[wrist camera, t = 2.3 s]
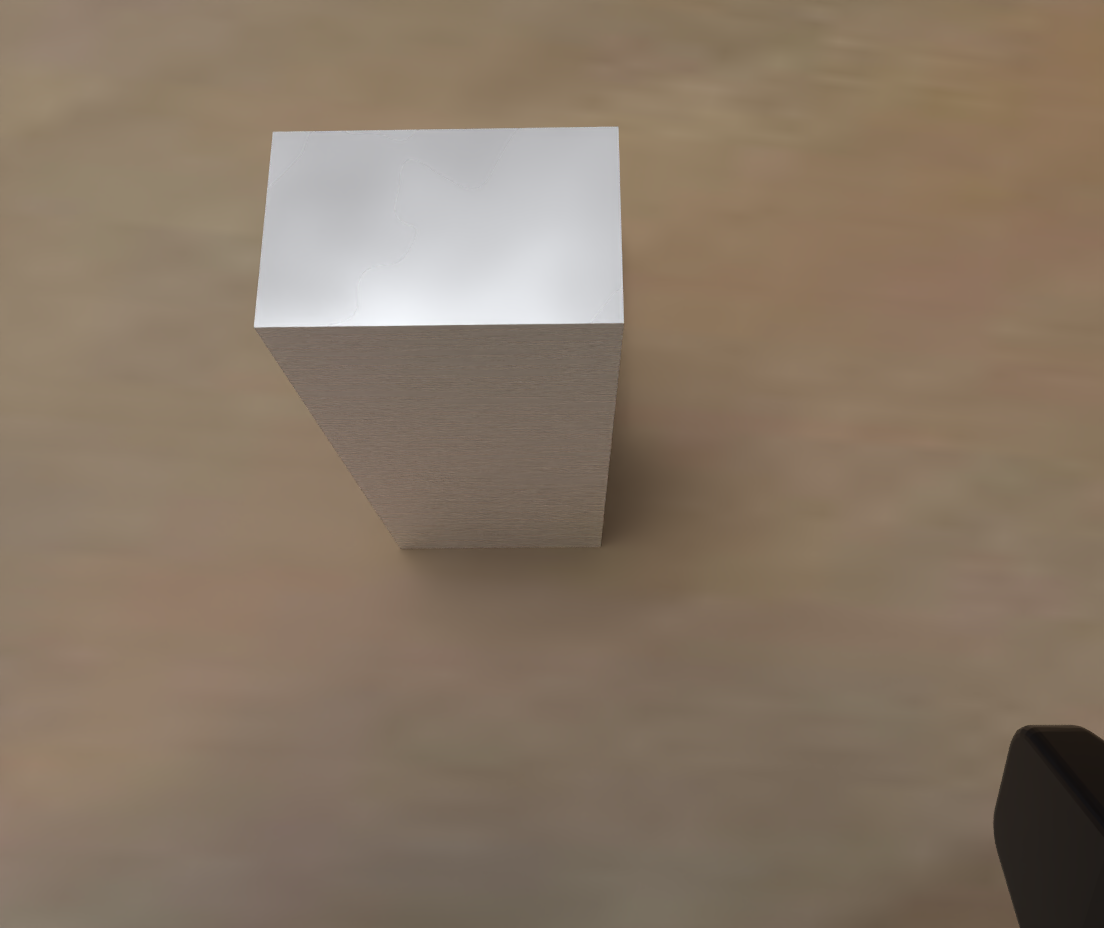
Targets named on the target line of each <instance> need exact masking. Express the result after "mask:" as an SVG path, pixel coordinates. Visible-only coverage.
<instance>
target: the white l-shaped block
mask: <svg viewBox="0 0 1104 928" xmlns="http://www.w3.org/2000/svg"><path fill="white" fill-rule="evenodd" d="M623 326H624V312H623V276H622V241H621V205H620V170H619V134H618V127H568V128H502V129H435V130H369V131H303V132H273V137H272V147H271V158H270V168H269V178H268V189H267V199H266V209H265V220H264V230H263V240H262V250H261V261H260V271H259V281H258V292H257V302H256V312H255V323H254V328H255V330H256V331H257V333H258V334H259V336H260V337H261V339H262V340H263V342H264V343H265V345H266V346H267V348H268V349H269V351H270V352H271V354H272V355H273V357H274V358H275V360H276V361H277V363H278V364H279V366H280V367H281V369H282V370H283V372H284V373H285V375H286V376H287V378H288V380H289V381H290V383H291V384H292V386H293V387H294V389H295V390H296V392H297V393H298V395H299V396H300V398H301V399H302V401H303V402H304V404H305V405H306V407H307V408H308V410H309V411H310V413H311V414H312V416H313V417H314V419H315V420H316V422H317V423H318V425H319V426H320V428H321V429H322V431H323V432H324V434H325V435H326V437H327V439H328V440H329V442H330V443H331V445H332V446H333V448H334V449H335V451H336V452H337V454H338V455H339V457H340V458H341V460H342V461H343V463H344V464H345V466H346V467H347V469H348V470H349V472H350V473H351V475H352V476H353V478H354V479H355V481H356V482H357V484H358V485H359V487H360V488H361V490H362V491H363V493H364V494H365V496H366V498H367V499H368V501H369V502H370V504H371V505H372V507H373V508H374V510H375V511H376V513H377V514H378V516H379V517H380V519H381V520H382V522H383V523H384V525H385V526H386V528H387V529H388V531H389V532H390V534H391V535H392V537H393V538H394V540H395V541H396V543H397V544H398V546H399V547H400V549H413V548H536V547H601V538H602V528H603V519H604V509H605V499H606V490H607V480H608V471H609V461H610V451H611V442H612V432H613V422H614V413H615V403H616V394H617V384H618V374H619V365H620V355H621V345H622V336H623Z"/></svg>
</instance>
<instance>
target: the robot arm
mask: <svg viewBox="0 0 1104 928" xmlns="http://www.w3.org/2000/svg"><path fill="white" fill-rule="evenodd" d="M993 827H994V838H995V844H996V848H997V852H998V856H999V859H1000V862H1001V866H1002V869H1003V872H1004V876H1005V879H1006V883H1007V886H1008V889H1009V893H1010V896H1011V900H1012V903H1013V906H1014V910H1015V913H1016V917H1017V920H1018V923H1019V927H1020V928H1104V740H1103V739H1101V738H1100V737H1098V736H1097V735H1095V734H1094V733H1092V732H1090V731H1089V730H1087V729H1085V728H1083V727H1080V726H1075V725H1028V726H1024V727H1022V728H1020V729H1019V730H1017V732H1016V733H1015V735H1014V736H1013V738H1012V741H1011V744H1010V747H1009V752H1008V756H1007V760H1006V764H1005V768H1004V773H1003V777H1002V781H1001V785H1000V789H999V794H998V798H997V802H996V806H995V811H994V822H993Z"/></svg>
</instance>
